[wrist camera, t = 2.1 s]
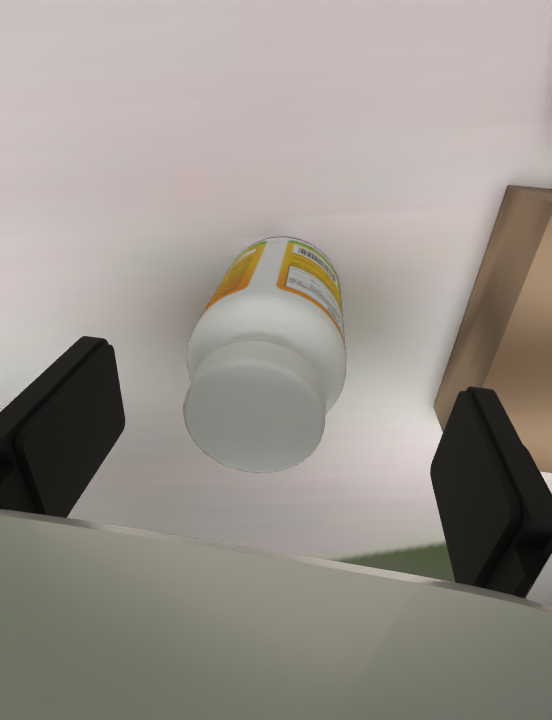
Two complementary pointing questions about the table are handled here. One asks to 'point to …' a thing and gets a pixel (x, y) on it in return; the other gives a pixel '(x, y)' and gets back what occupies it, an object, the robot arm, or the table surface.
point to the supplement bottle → (267, 358)
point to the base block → (511, 323)
